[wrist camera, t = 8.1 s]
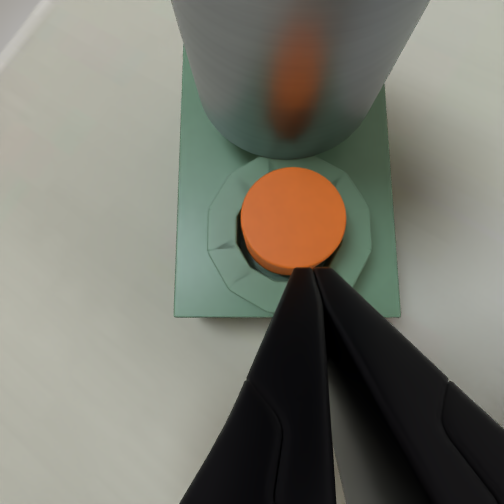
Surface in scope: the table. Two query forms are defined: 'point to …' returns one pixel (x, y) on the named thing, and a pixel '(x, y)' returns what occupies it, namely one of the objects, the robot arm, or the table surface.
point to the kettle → (292, 66)
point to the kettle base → (229, 217)
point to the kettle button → (292, 219)
